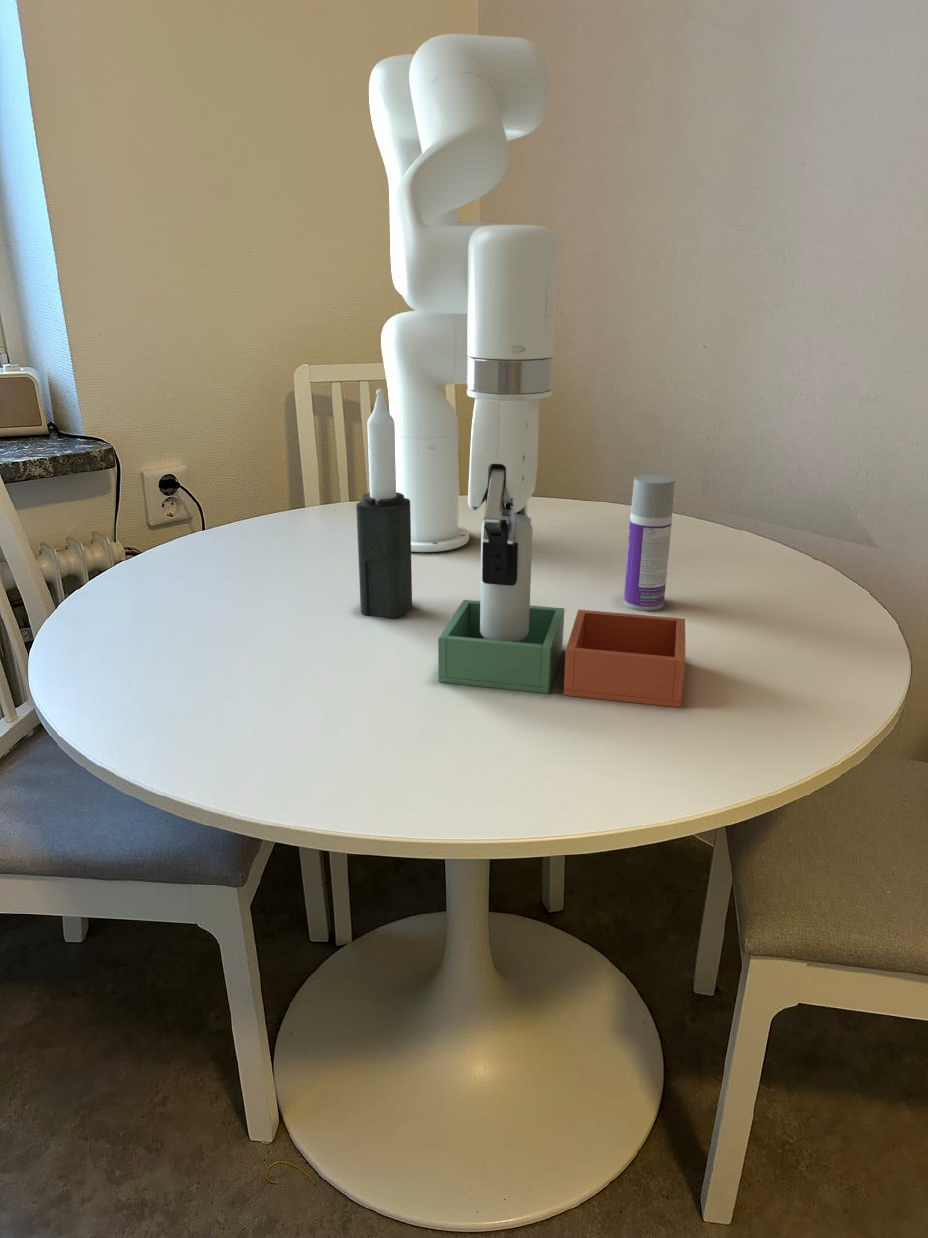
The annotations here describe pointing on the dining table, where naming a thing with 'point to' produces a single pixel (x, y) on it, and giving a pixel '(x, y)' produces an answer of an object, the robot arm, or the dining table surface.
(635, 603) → the container
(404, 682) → the dining table surface
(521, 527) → the beverage can
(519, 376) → the robot arm
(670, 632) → the terracotta bin
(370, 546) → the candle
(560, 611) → the sage bin
